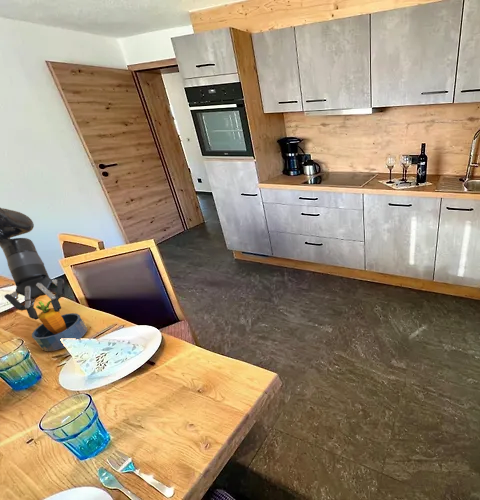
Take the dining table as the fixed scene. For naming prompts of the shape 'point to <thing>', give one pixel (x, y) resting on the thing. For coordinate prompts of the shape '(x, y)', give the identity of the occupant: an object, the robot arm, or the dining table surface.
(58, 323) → the carrot
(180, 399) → the dining table surface
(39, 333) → the bowl
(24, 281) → the robot arm
